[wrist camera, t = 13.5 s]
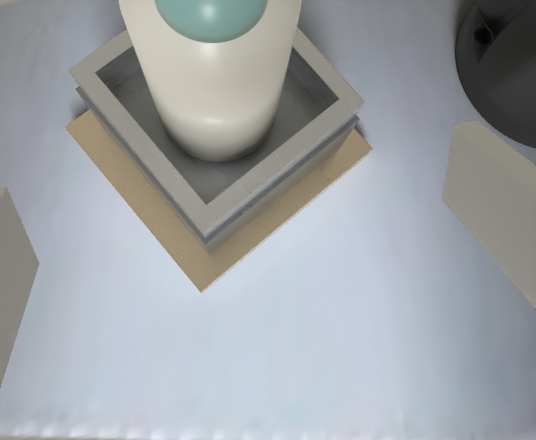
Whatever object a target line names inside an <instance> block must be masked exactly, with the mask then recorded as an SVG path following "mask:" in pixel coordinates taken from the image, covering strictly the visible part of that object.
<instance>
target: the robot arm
mask: <svg viewBox="0 0 536 440" xmlns="http://www.w3.org/2000/svg"><path fill="white" fill-rule="evenodd" d="M456 60H457V68H458V72H459V76H460V79H461V82H462V85H463V87H464V90H465V92H466V94H467V96H468V97H469V99H470V101H471V102H472V104H473V105H474V107H475V108H476V109H477V111H478V112H479V113H480V114H481V115H482V117H483V118H484V119H485V120H486V121H487V122H488V123H490V124H491V125H492V126H493V127H494V128H495V129H497V130H498V131H499V132H501V133H502V134H504V135H506V136H507V137H509V138H511V139H513V140H515V141H517V142H519V143H521V144H524V145H527V146H530V147H534V148H536V0H476V2H475V3H474V4H473V5H472V7H471V8H470V9H469V11H468V12H467V14H466V16H465V18H464V20H463V22H462V24H461V27H460V30H459V33H458V38H457V45H456ZM442 200H443V202H444V203H445V204H446V205H447V206H448V207H449V208H450V210H451V211H452V212H453V213H454V214H455V215H456V217H457V218H458V219H459V220H460V221H461V222H462V224H463V225H464V226H465V227H466V228H467V229H468V231H469V232H470V233H471V234H472V235H473V236H474V238H475V239H476V240H477V241H478V242H479V243H480V245H481V246H482V247H483V248H484V249H485V250H486V252H487V253H488V254H489V255H490V256H491V257H492V258H493V260H494V261H495V262H496V263H497V264H498V265H499V267H500V268H501V269H502V270H503V271H504V272H505V274H506V275H507V276H508V277H509V278H510V279H511V281H512V282H513V283H514V284H515V285H516V286H517V288H518V289H519V290H520V291H521V292H522V293H523V295H524V296H525V297H526V298H527V299H528V300H529V302H530V303H531V304H532V305H533V306H534V307H535V309H536V166H535V165H534V164H533V163H532V162H530V161H529V160H528V159H526V158H525V157H524V156H523V155H521V154H520V153H519V152H517V151H516V150H515V149H514V148H512V147H511V146H510V145H508V144H507V143H506V142H505V141H503V140H502V139H501V138H500V137H498V136H497V135H496V134H494V133H493V132H492V131H491V130H489V129H488V128H487V127H485V126H484V125H483V124H482V123H480V122H479V121H478V120H476V121H469V122H462V123H455V124H454V126H453V132H452V139H451V145H450V151H449V158H448V164H447V171H446V177H445V184H444V190H443V196H442ZM38 266H39V261H38V259H37V257H36V254H35V252H34V250H33V247H32V245H31V243H30V240H29V238H28V236H27V233H26V231H25V229H24V226H23V224H22V222H21V219H20V217H19V215H18V212H17V210H16V208H15V205H14V203H13V201H12V198H11V196H10V194H9V191H8V189H7V187H4V188H0V387H1V384H2V381H3V378H4V374H5V371H6V368H7V365H8V362H9V358H10V355H11V352H12V349H13V346H14V343H15V339H16V336H17V333H18V330H19V327H20V323H21V320H22V317H23V314H24V311H25V307H26V304H27V301H28V298H29V295H30V292H31V288H32V285H33V282H34V279H35V276H36V272H37V269H38Z"/></svg>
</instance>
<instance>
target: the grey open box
mask: <svg viewBox="0 0 536 440" xmlns="http://www.w3.org/2000/svg"><path fill="white" fill-rule="evenodd" d="M68 70H69V72H70V73H71V75H72V76H73V78H74V79H75V81H76V82H77V84H78V85H79V87H78V88H76V91H77V92H78V93H79V95H80V96H81V98H82V99H83V101H84V102H85V103H86V105H87V106H88V108H89V110H88V111H86V112H85V113H83V114H82V115H81V116H79V117H78V118H76V119H75V120H74V121H72V122H71V123H69V124H68V125H67V126H65V128H66V129H67V130H68V132H69V133H70V134H71V135H72V137H73V138H74V139H75V140H76V141H77V143H78V144H79V145H80V146H81V147H82V149H83V150H84V151H85V152H86V154H87V155H88V156H89V157H90V158H91V160H92V161H93V162H94V163H95V165H96V166H97V167H98V168H99V169H100V171H101V172H102V173H103V174H104V175H105V177H106V178H107V179H108V180H109V182H110V183H111V184H112V185H113V186H114V188H115V189H116V190H117V191H118V192H119V194H120V195H121V196H122V197H123V199H124V200H125V201H126V202H127V203H128V205H129V206H130V207H131V208H132V209H133V211H134V212H135V213H136V214H137V216H138V217H139V218H140V219H141V220H142V222H143V223H144V224H145V225H146V226H147V228H148V229H149V230H150V231H151V233H152V234H153V235H154V236H155V237H156V239H157V240H158V241H159V242H160V243H161V245H162V246H163V247H164V248H165V250H166V251H167V252H168V253H169V254H170V256H171V257H172V258H173V259H174V260H175V262H176V263H177V264H178V265H179V267H180V268H181V269H182V270H183V271H184V273H185V274H186V275H187V276H188V278H189V279H190V280H191V281H192V282H193V284H194V285H195V286H196V287H197V288H198V290H199V291H200V292H201V293H203V292H204V291H205V290H207V289H208V288H209V287H210V286H211V285H213V284H214V283H215V282H216V281H217V280H219V279H220V278H221V277H222V276H223V275H225V274H226V273H227V272H228V271H229V270H231V269H232V268H233V267H234V266H235V265H237V264H238V263H239V262H240V261H241V260H243V259H244V258H245V257H246V256H247V255H249V254H250V253H251V252H252V251H253V250H255V249H256V248H257V247H258V246H259V245H261V244H262V243H263V242H264V241H265V240H266V239H268V238H269V237H270V236H271V235H272V234H274V233H275V232H276V231H277V230H278V229H280V228H281V227H282V226H283V225H284V224H286V223H287V222H288V221H289V220H290V219H292V218H293V217H294V216H295V215H296V214H298V213H299V212H300V211H301V210H302V209H304V208H305V207H306V206H307V205H308V204H310V203H311V202H312V201H313V200H314V199H316V198H317V197H318V196H319V195H320V194H322V193H323V192H324V191H325V190H326V189H328V188H329V187H330V186H331V185H332V184H334V183H335V182H336V181H337V180H338V179H340V178H341V177H342V176H343V175H344V174H346V173H347V172H348V171H349V170H350V169H352V168H353V167H354V166H355V165H356V164H358V163H359V162H360V161H361V160H362V159H364V158H365V157H366V156H367V155H368V153H369V152H370V151H371V150H372V148H371V146H370V145H369V144H368V143H367V142H366V141H365V140H364V139H363V137H362V136H361V135H360V134H359V133H358V132H357V131H356V130H355V128H354V127H355V125H356V124H357V122H358V121H359V118H358V117H357V115H356V114H357V113H358V111H359V110H360V108H361V107H362V105H363V103H364V102H365V101H364V100H363V99H362V98H361V97H360V96H359V95H358V93H357V92H356V91H355V90H354V89H353V88H352V87H351V86H350V85H349V83H348V82H347V81H346V80H345V79H344V78H343V77H342V76H341V75H340V73H339V72H338V71H337V70H336V69H335V68H334V67H333V66H332V65H331V63H330V62H329V61H328V60H327V59H326V58H325V57H324V56H323V55H322V53H321V52H320V51H319V50H318V49H317V48H316V47H315V46H314V45H313V43H312V42H311V41H310V40H309V39H308V38H307V37H306V36H305V35H304V33H303V32H302V31H301V30H300V29H299V28H298V27H297V28H296V32H295V36H294V41H293V45H292V49H291V53H290V58H289V62H288V66H287V71H286V75H285V79H284V83H283V88H282V92H281V96H280V101H279V105H278V109H277V114H276V118H275V121H274V125H273V127H272V129H271V132H270V133H269V135H268V136H267V138H266V139H265V140H264V142H263V143H262V144H261V145H260V146H259V147H258V148H257V149H255V150H254V151H252V152H251V153H249V154H247V155H245V156H243V157H241V158H238V159H235V160H231V161H223V162H212V161H206V160H202V159H199V158H196V157H193V156H191V155H189V154H187V153H186V152H184V151H183V150H181V149H180V148H179V147H178V146H176V144H175V143H174V142H173V141H172V140H171V139H170V138H169V136H168V135H167V133H166V131H165V130H164V128H163V125H162V122H161V120H160V117H159V114H158V112H157V109H156V106H155V103H154V101H153V98H152V95H151V92H150V90H149V87H148V84H147V82H146V79H145V76H144V73H143V71H142V68H141V65H140V62H139V60H138V57H137V54H136V52H135V49H134V46H133V43H132V41H131V38H130V35H129V33H128V30H127V29H126V30H124V31H123V32H121V33H120V34H118V35H117V36H116V37H114V38H113V39H111V40H110V41H108V42H107V43H106V44H104V45H103V46H101V47H100V48H98V49H97V50H96V51H94V52H93V53H91V54H90V55H88V56H87V57H85V58H84V59H83V60H81V61H80V62H78V63H77V64H75V65H74V66H73V67H71V68H70V69H68Z"/></svg>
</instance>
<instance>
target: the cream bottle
mask: <svg viewBox="0 0 536 440" xmlns="http://www.w3.org/2000/svg"><path fill="white" fill-rule="evenodd" d="M301 3H302V0H119V5H120V10H121V13H122V16H123V19H124V22H125V24H126V27H127V30H128V33H129V35H130V38H131V41H132V43H133V46H134V49H135V52H136V54H137V57H138V60H139V62H140V65H141V68H142V71H143V73H144V76H145V79H146V82H147V84H148V87H149V90H150V92H151V95H152V98H153V101H154V103H155V106H156V109H157V112H158V114H159V117H160V120H161V122H162V125H163V128H164V130H165V131H166V133H167V135H168V136H169V138H170V139H171V140H172V141H173V142H174V143H175V144H176V146H178V147H179V148H180V149H181V150H183V151H184V152H186V153H187V154H189V155H191V156H193V157H196V158H199V159H202V160H206V161H212V162H223V161H231V160H235V159H238V158H241V157H243V156H245V155H247V154H249V153H251V152H252V151H254V150H255V149H257V148H258V147H259V146H260V145H261V144H262V143H263V142H264V140H265V139H266V138H267V136H268V135H269V133H270V132H271V129H272V127H273V125H274V121H275V118H276V114H277V109H278V105H279V101H280V96H281V92H282V88H283V83H284V79H285V75H286V71H287V66H288V62H289V58H290V53H291V49H292V45H293V41H294V36H295V32H296V28H297V23H298V19H299V15H300V10H301Z"/></svg>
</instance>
